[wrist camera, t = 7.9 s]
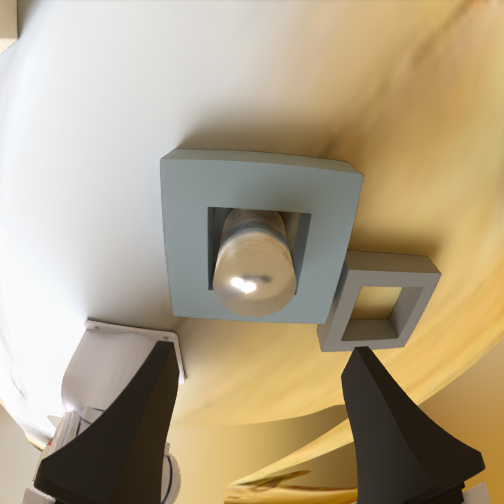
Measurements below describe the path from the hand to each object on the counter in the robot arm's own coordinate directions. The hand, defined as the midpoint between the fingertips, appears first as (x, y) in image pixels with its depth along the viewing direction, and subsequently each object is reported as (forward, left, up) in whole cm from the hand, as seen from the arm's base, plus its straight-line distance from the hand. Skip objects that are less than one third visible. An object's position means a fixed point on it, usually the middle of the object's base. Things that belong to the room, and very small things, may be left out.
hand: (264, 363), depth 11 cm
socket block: (0, +1, -10) cm, 10 cm away
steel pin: (0, +1, -10) cm, 10 cm away
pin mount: (+10, -4, -10) cm, 14 cm away
